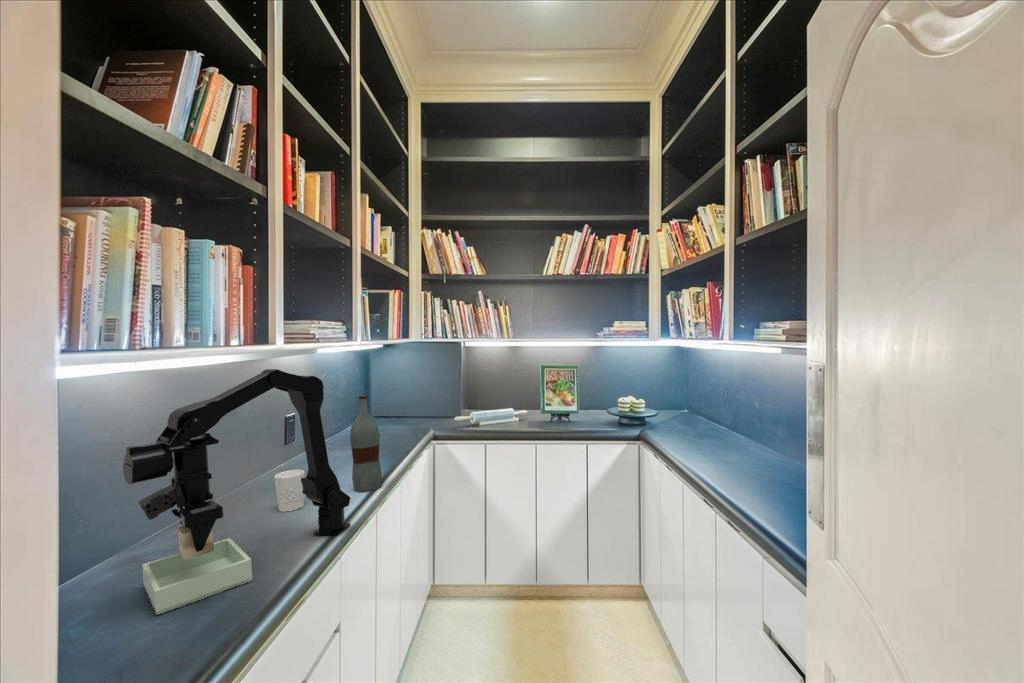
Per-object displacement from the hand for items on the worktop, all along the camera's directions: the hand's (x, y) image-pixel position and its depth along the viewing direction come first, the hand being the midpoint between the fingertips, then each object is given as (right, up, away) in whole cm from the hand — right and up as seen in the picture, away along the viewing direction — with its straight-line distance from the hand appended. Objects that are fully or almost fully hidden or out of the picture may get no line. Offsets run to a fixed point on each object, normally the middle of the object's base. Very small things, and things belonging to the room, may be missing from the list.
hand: (196, 546), depth 95 cm
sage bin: (0, -8, 0) cm, 8 cm away
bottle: (+17, -6, +57) cm, 60 cm away
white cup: (-1, -7, +42) cm, 43 cm away
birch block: (0, -1, 0) cm, 1 cm away
